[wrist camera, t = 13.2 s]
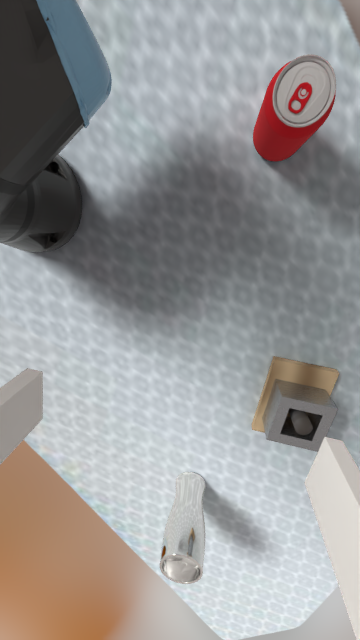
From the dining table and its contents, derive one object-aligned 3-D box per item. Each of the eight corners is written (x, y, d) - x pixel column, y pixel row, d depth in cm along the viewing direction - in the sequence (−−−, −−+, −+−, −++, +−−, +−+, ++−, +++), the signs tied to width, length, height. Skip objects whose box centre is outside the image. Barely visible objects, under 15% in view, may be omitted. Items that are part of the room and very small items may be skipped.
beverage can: (313, 122, 34) (360, 71, 23) (283, 172, 36) (311, 147, 25) (271, 95, 34) (296, 30, 23) (242, 146, 36) (252, 110, 25)
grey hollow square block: (261, 418, 47) (266, 439, 43) (275, 378, 45) (281, 396, 40) (309, 429, 47) (319, 451, 42) (325, 389, 44) (338, 409, 39)
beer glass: (210, 496, 56) (206, 586, 42) (176, 495, 57) (162, 583, 43) (205, 469, 54) (200, 555, 40) (171, 469, 55) (154, 553, 41)
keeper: (251, 425, 49) (256, 456, 43) (273, 356, 45) (283, 379, 38) (308, 438, 49) (322, 472, 42) (336, 369, 44) (357, 395, 37)
